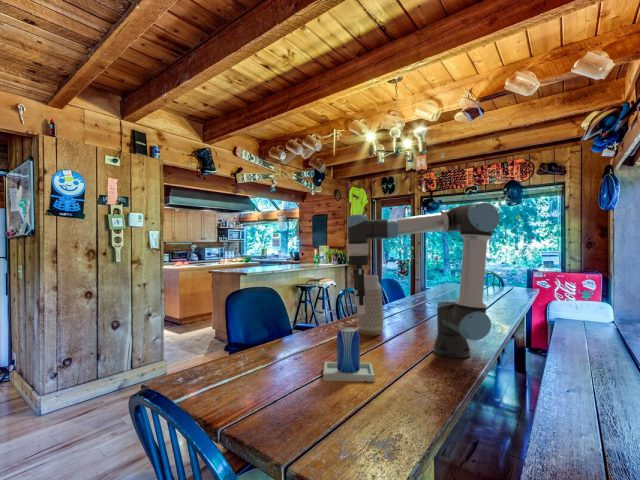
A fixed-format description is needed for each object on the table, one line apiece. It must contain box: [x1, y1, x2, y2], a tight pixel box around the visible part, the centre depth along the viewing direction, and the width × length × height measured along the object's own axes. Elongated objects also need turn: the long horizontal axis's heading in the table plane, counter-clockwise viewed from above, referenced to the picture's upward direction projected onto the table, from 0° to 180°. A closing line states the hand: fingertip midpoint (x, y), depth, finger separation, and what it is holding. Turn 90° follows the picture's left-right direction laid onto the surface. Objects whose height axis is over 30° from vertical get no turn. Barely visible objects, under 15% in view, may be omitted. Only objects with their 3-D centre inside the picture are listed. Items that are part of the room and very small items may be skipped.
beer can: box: [336, 326, 361, 374], centre depth 124 cm, size 8×8×16 cm
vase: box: [356, 274, 384, 337], centre depth 178 cm, size 14×14×31 cm
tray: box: [322, 361, 376, 383], centre depth 124 cm, size 18×12×2 cm, turn 87°
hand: (359, 310), depth 129 cm, fingers open, 13 cm apart
